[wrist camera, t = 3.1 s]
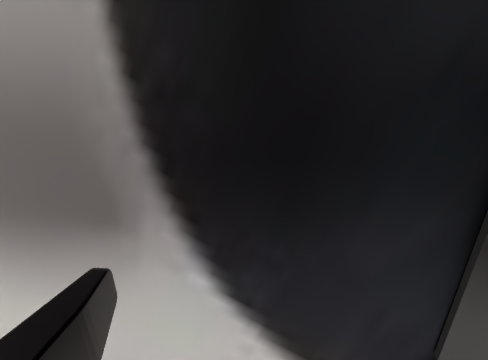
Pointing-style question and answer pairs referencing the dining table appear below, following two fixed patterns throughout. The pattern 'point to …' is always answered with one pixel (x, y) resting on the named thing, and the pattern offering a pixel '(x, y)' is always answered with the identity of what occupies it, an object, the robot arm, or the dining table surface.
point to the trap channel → (469, 309)
